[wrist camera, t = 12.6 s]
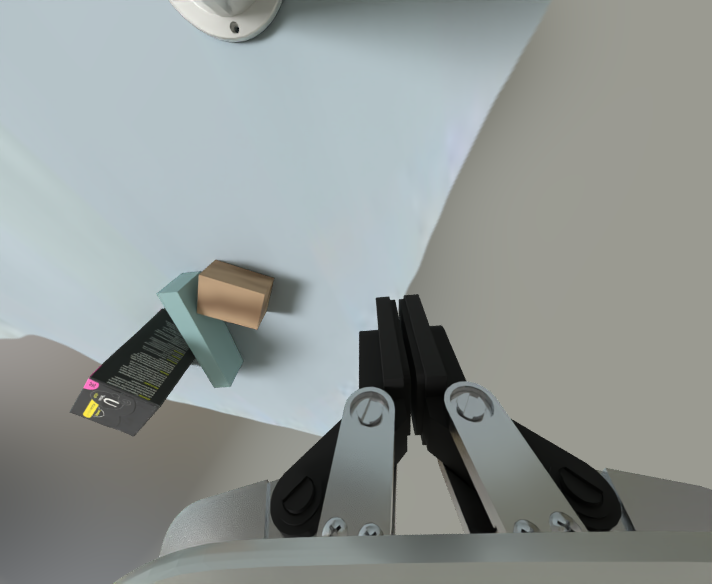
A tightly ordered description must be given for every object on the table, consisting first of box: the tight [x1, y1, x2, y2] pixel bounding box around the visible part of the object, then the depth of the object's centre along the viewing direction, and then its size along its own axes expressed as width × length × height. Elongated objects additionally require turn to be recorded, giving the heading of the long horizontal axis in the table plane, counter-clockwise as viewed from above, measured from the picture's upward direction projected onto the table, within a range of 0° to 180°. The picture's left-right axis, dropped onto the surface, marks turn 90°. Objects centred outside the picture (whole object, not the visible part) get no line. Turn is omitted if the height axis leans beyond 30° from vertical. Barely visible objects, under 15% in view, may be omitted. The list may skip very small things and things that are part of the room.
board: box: [157, 272, 243, 388], centre depth 43 cm, size 20×3×6 cm, turn 6°
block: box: [197, 260, 274, 330], centre depth 40 cm, size 7×9×5 cm
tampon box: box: [70, 309, 195, 436], centre depth 42 cm, size 11×9×15 cm
